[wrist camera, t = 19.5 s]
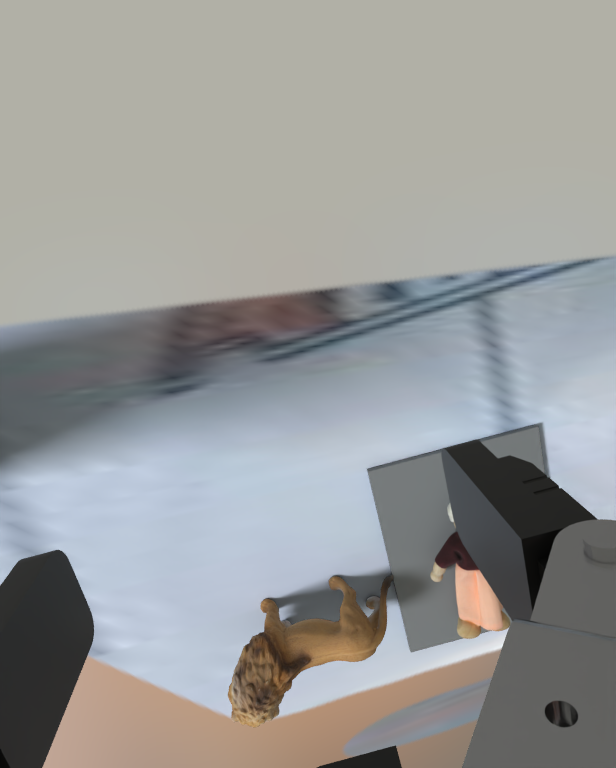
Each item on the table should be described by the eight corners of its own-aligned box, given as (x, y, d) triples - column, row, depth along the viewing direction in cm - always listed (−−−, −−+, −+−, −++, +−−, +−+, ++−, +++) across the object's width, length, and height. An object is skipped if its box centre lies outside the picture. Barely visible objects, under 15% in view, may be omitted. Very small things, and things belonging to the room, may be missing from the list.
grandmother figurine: (458, 655, 45) (433, 523, 40) (437, 623, 48) (411, 499, 44) (542, 619, 46) (525, 488, 42) (515, 591, 49) (497, 467, 45)
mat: (409, 648, 49) (410, 652, 49) (367, 469, 44) (368, 471, 44) (560, 607, 50) (563, 611, 49) (535, 424, 45) (538, 426, 44)
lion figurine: (247, 661, 48) (245, 755, 40) (220, 615, 47) (211, 702, 38) (402, 594, 48) (433, 674, 39) (379, 545, 46) (406, 618, 38)
